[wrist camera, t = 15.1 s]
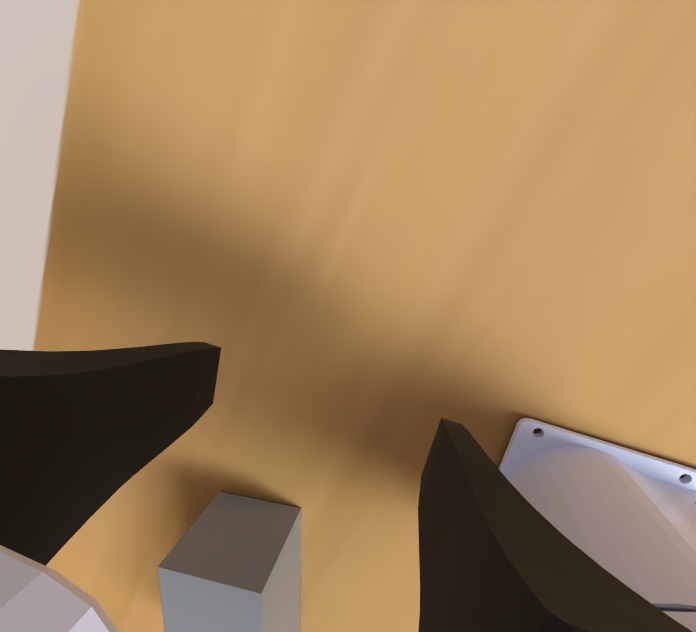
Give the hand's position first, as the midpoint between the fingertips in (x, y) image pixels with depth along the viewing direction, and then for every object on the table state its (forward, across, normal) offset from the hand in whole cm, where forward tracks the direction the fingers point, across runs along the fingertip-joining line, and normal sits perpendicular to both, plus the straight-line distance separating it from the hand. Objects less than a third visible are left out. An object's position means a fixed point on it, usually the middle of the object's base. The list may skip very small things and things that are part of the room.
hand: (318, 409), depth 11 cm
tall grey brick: (+9, +3, +20) cm, 22 cm away
